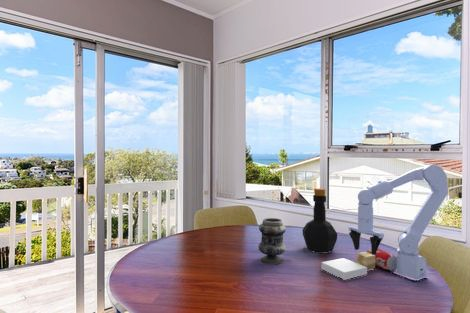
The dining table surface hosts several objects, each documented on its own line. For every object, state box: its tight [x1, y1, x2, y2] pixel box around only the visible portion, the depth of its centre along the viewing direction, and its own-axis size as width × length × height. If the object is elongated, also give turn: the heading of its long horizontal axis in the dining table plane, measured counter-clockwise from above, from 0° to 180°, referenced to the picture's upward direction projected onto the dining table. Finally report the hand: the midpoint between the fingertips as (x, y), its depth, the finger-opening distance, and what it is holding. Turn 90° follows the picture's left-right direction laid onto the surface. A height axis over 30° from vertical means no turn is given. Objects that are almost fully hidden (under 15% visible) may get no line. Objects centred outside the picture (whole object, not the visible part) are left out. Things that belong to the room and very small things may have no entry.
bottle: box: [302, 188, 338, 253], centre depth 148 cm, size 16×16×30 cm
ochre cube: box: [355, 251, 376, 270], centre depth 123 cm, size 5×5×6 cm
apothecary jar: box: [257, 217, 287, 265], centre depth 132 cm, size 12×12×18 cm
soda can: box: [366, 247, 397, 272], centre depth 124 cm, size 7×7×12 cm
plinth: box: [321, 257, 368, 281], centre depth 119 cm, size 12×12×3 cm
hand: (365, 251), depth 123 cm, fingers open, 7 cm apart
